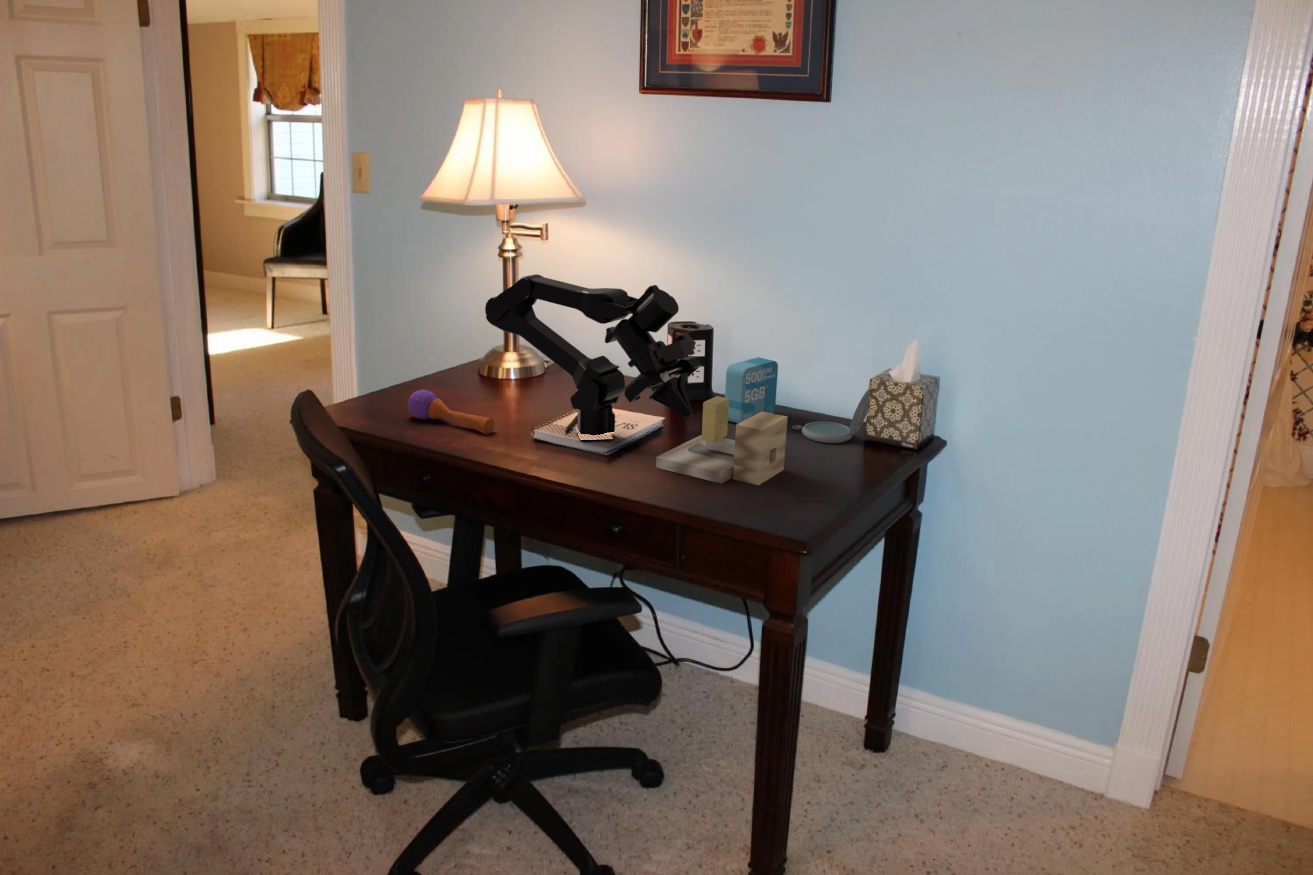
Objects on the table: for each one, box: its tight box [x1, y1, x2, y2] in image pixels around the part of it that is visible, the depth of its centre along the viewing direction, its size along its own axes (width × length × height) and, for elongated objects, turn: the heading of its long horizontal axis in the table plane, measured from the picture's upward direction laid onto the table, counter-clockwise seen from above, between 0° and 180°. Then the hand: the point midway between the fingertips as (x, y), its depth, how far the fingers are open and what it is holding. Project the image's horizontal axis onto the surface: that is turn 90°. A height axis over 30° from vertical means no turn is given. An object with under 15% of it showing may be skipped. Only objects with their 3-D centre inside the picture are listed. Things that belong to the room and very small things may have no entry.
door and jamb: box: [655, 412, 789, 486], centre depth 191 cm, size 19×16×10 cm
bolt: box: [701, 395, 735, 455], centre depth 190 cm, size 7×5×9 cm
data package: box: [724, 356, 779, 424], centre depth 220 cm, size 12×4×12 cm, turn 138°
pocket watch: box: [792, 388, 871, 444], centre depth 210 cm, size 10×11×15 cm
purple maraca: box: [407, 389, 496, 435], centre depth 211 cm, size 6×6×20 cm
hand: (690, 415), depth 194 cm, fingers closed
